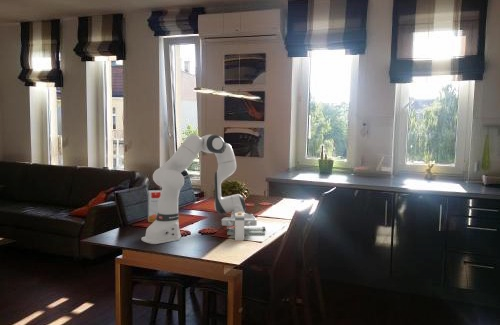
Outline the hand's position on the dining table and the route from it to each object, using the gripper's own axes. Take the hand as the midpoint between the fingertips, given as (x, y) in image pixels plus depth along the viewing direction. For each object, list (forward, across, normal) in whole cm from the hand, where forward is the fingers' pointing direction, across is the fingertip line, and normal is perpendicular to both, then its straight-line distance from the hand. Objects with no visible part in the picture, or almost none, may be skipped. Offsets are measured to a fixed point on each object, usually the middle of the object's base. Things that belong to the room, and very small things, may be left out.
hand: (239, 225), depth 244 cm
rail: (-13, +4, +7) cm, 15 cm away
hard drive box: (-43, -51, +8) cm, 67 cm away
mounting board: (-13, +4, +8) cm, 16 cm away
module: (0, 0, +8) cm, 8 cm away
